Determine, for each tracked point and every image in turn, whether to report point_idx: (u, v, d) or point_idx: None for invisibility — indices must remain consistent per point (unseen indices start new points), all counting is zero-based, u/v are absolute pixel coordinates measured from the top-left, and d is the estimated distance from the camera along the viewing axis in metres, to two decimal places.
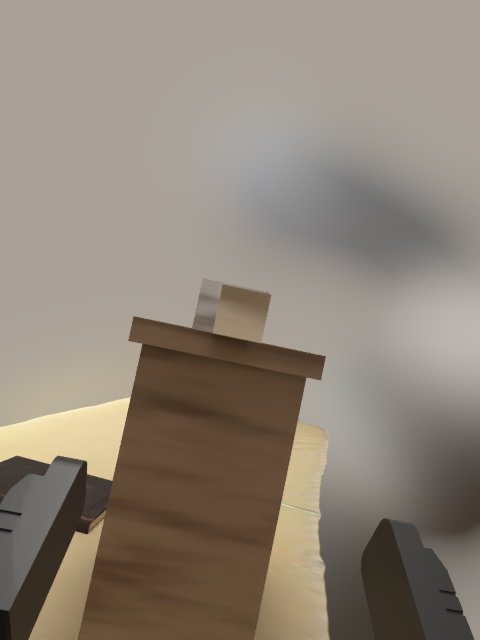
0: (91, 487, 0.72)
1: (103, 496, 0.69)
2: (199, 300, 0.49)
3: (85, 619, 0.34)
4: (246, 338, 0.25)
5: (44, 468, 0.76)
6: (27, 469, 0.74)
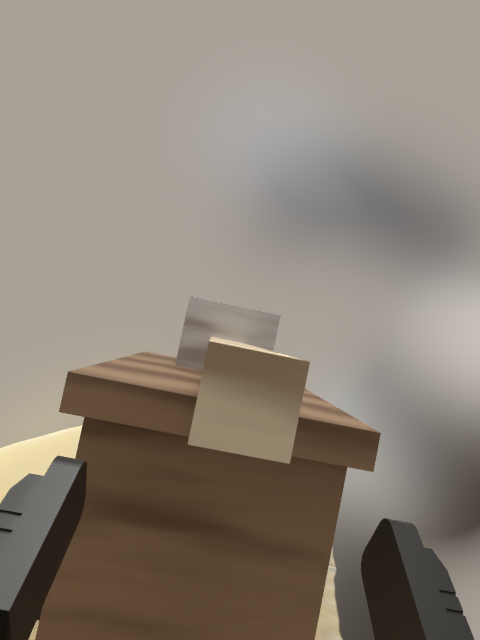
0: None
1: None
2: (185, 326, 0.36)
3: None
4: (259, 454, 0.12)
5: None
6: None
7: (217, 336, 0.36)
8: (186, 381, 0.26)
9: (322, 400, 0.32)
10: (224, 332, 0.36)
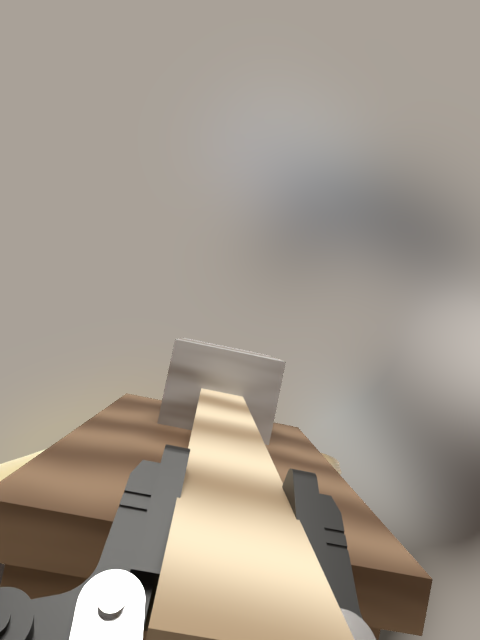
0: None
1: None
2: (169, 376, 0.29)
3: None
4: None
5: None
6: None
7: (208, 387, 0.30)
8: None
9: (338, 478, 0.25)
10: (217, 383, 0.30)
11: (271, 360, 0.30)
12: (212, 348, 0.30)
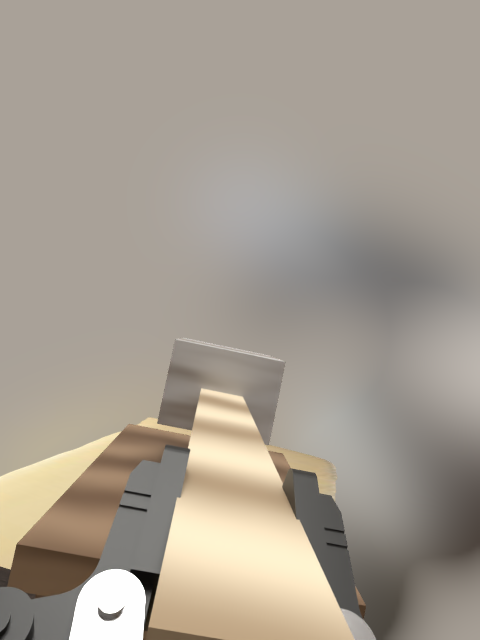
0: None
1: None
2: (169, 376, 0.29)
3: None
4: None
5: None
6: None
7: (208, 388, 0.30)
8: None
9: None
10: (217, 383, 0.30)
11: (271, 360, 0.30)
12: (212, 348, 0.30)
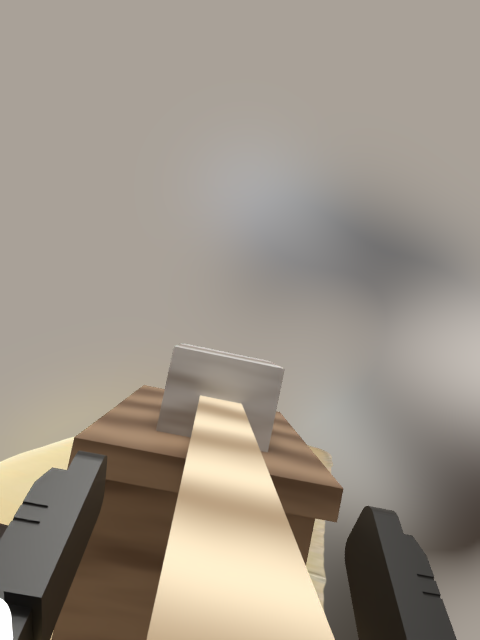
0: None
1: None
2: (168, 383, 0.29)
3: None
4: None
5: None
6: None
7: (207, 395, 0.29)
8: None
9: (302, 442, 0.35)
10: (216, 390, 0.30)
11: (270, 367, 0.30)
12: (211, 355, 0.30)
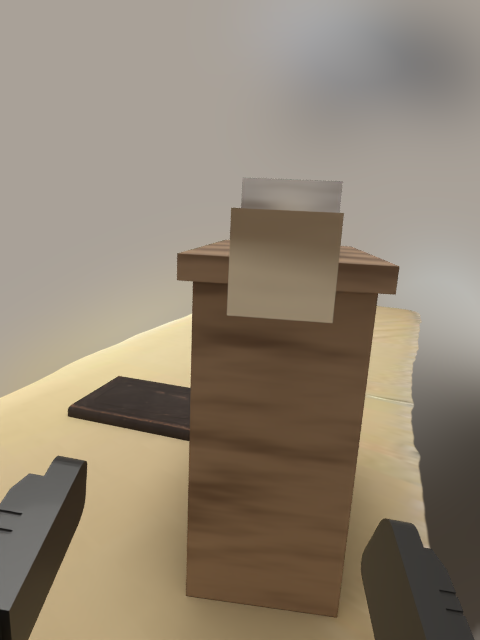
0: (187, 398, 0.78)
1: None
2: None
3: (190, 529, 0.38)
4: (299, 317, 0.12)
5: (143, 385, 0.83)
6: (129, 387, 0.82)
7: None
8: None
9: None
10: None
11: (329, 182, 0.33)
12: (275, 180, 0.34)
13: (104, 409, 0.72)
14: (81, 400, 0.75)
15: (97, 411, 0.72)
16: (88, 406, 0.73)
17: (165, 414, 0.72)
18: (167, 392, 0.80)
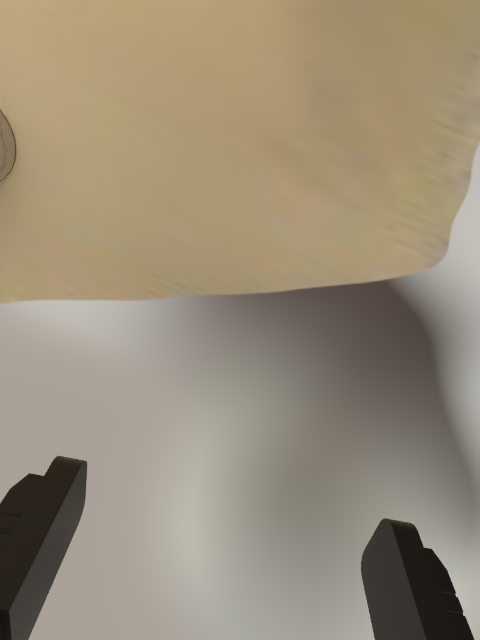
0: None
1: None
2: None
3: None
4: None
5: None
6: None
7: None
8: None
9: None
10: None
11: None
12: None
13: None
14: None
15: None
16: None
17: None
18: None
